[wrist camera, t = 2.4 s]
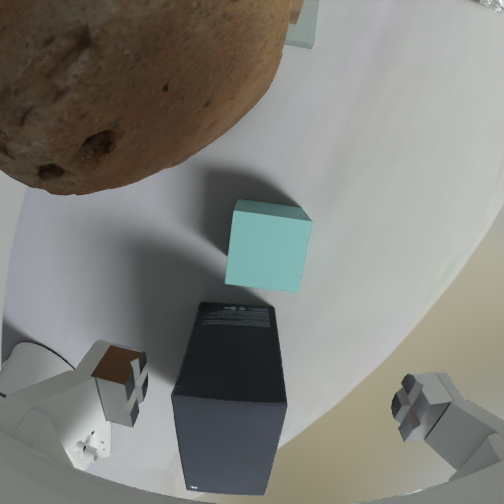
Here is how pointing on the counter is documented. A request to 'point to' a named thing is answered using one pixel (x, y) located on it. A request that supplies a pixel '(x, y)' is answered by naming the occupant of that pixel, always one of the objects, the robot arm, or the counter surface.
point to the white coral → (494, 5)
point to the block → (127, 84)
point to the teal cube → (267, 245)
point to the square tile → (304, 26)
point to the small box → (230, 400)
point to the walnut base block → (295, 10)
